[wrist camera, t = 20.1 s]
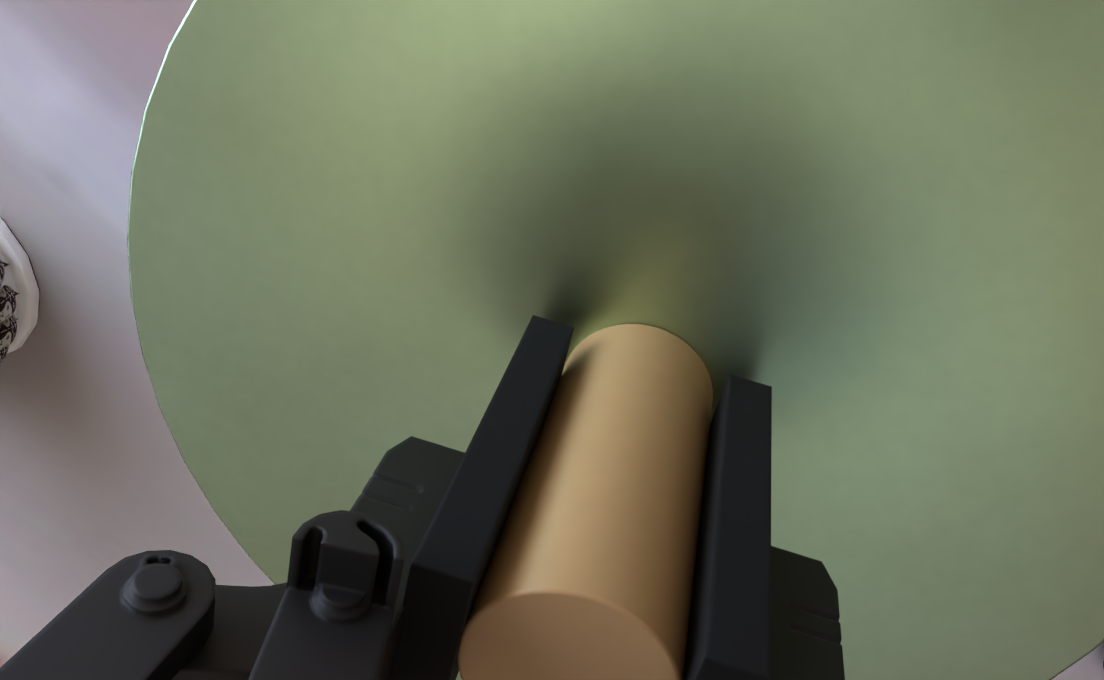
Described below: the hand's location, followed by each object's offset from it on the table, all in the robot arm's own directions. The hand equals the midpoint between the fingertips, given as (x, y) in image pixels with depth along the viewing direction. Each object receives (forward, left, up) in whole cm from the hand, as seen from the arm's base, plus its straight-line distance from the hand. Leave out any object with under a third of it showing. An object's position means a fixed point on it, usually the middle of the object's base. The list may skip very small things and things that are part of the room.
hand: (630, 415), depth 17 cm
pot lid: (0, 0, -1) cm, 1 cm away
